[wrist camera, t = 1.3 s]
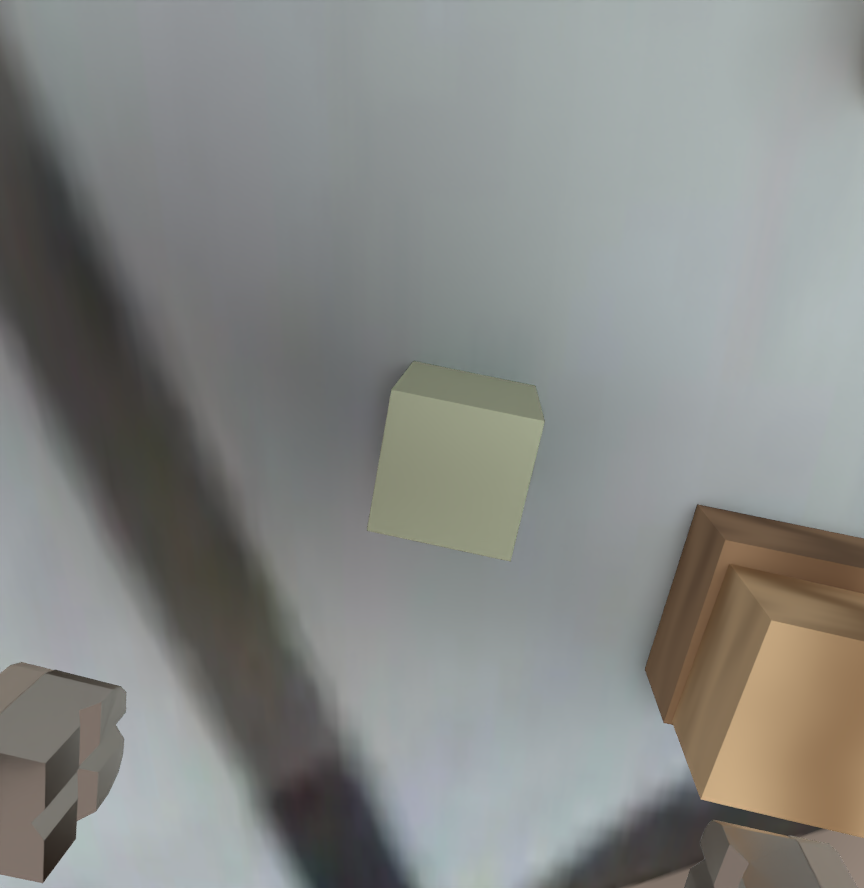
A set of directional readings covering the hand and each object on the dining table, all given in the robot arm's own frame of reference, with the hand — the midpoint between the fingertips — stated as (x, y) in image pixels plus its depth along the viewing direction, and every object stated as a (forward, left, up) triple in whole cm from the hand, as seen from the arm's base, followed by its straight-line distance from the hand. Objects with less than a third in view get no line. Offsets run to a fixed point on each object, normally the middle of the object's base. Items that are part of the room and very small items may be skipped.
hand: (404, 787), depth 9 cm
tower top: (+14, -6, -16) cm, 22 cm away
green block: (0, 0, -20) cm, 20 cm away
